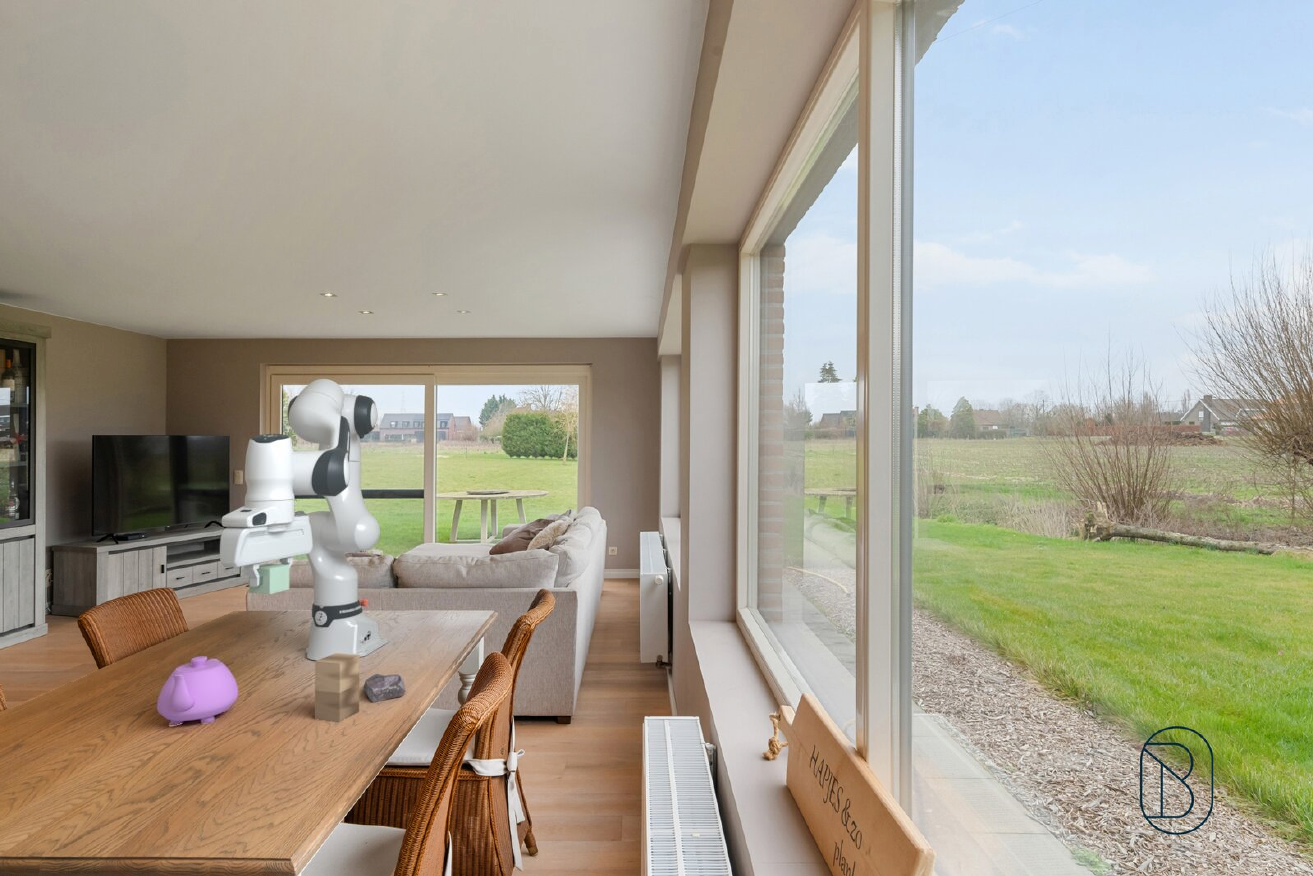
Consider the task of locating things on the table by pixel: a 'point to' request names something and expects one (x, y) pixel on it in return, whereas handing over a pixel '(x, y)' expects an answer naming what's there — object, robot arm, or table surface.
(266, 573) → the sage block
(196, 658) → the teapot
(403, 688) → the rock
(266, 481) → the robot arm
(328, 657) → the tower top
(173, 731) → the table surface
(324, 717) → the tower bottom
